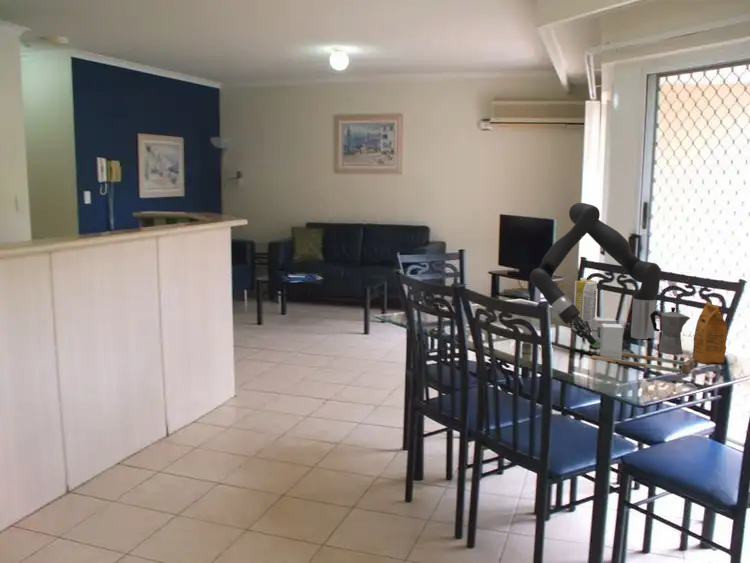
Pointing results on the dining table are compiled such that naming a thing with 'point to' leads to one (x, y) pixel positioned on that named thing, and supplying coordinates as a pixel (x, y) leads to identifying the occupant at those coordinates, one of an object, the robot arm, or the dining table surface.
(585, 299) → the juice carton
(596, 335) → the ink box
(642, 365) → the beam slot
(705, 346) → the coffee package
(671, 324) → the coffeepot
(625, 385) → the dining table surface
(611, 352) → the supplement box
